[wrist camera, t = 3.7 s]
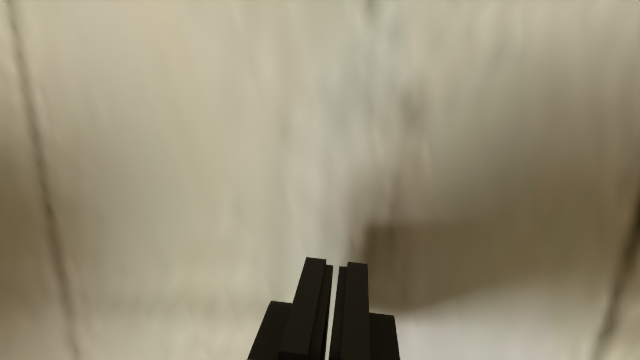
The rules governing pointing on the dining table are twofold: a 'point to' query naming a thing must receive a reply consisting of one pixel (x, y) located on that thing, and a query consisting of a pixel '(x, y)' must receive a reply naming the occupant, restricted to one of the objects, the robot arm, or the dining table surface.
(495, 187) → the dining table surface
